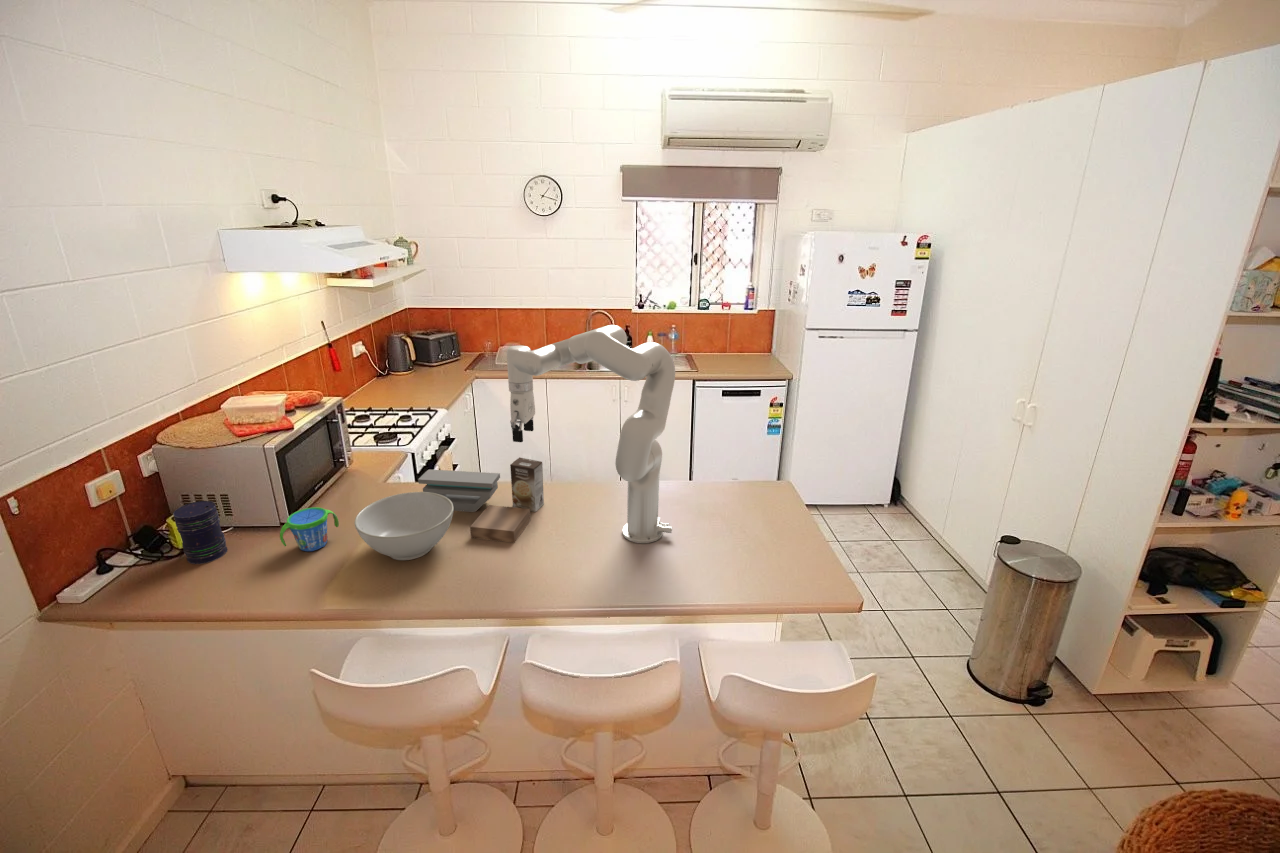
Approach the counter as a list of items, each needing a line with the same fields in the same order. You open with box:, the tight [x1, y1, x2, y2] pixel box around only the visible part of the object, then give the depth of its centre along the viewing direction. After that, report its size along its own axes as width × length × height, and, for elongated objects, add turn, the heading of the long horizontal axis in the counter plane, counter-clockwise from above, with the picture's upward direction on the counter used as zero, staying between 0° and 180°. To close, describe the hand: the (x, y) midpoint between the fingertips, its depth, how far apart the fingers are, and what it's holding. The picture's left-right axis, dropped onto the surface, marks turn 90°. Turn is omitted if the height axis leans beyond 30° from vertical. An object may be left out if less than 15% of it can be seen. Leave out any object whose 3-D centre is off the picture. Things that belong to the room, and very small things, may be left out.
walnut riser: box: [469, 504, 532, 544], centre depth 186 cm, size 14×14×4 cm
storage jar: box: [172, 500, 228, 565], centre depth 169 cm, size 10×10×15 cm
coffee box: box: [509, 457, 545, 513], centre depth 198 cm, size 9×6×16 cm
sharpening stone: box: [417, 469, 501, 513], centre depth 199 cm, size 25×8×11 cm, turn 84°
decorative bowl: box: [353, 491, 454, 561], centre depth 173 cm, size 27×27×12 cm
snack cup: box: [279, 506, 340, 552], centre depth 174 cm, size 16×10×10 cm
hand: (523, 436), depth 192 cm, fingers open, 9 cm apart
